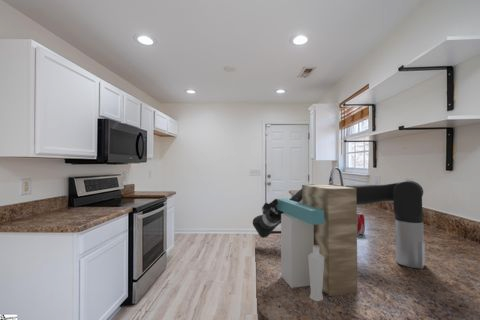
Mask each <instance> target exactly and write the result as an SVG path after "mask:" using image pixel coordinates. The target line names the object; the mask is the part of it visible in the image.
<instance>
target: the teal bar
mask: <svg viewBox="0 0 480 320" xmlns="http://www.w3.org/2000/svg"><path fill="white" fill-rule="evenodd" d="M276 199H277V200H278V205H277V206H276V207H277V210H280V211H282V212H284V213H286V214H289V215H291V216H293V217H295V218H298V219H300V220H302V221H304V222H307V223H309V224H311V225H318V224H324V210H321V209H318V208H315V207H312V206H308V205H305V204H302V202H295V201H292V200H289V199H290V198H289V199H288V198H276Z"/></svg>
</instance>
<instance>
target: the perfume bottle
mask: <svg viewBox="0 0 480 320" xmlns="http://www.w3.org/2000/svg"><path fill="white" fill-rule="evenodd" d="M312 247H313V252H312V253H310V254H309V255H308V261H309V274H310V287H309V288H310V293H309V299H311V300H313V301H315V302H319V301H323V300H324V297H323V296H324V295H323V290H322V286H323V272H324V256H323V255H321V254H320V253H319V248H320V247H319V246H318V245H313V246H312Z"/></svg>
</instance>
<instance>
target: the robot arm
mask: <svg viewBox="0 0 480 320" xmlns="http://www.w3.org/2000/svg"><path fill="white" fill-rule="evenodd" d="M309 185H316V184H315V183H314V184H313V183H312V184H309ZM343 187H350V188H356V197H357V205H359V206H360V205H361V206H362V205H369V204H375V203H381V202H393V212H394V228H395V229H394V230H395V231H394V235H395V236H394V237H395V247H394V248H395V262H396V263H397V264H399V265H402V266H404V267H407V268H413V269H421V270H423V269H424V268H425V266H426V246H425V245H426V242H425V240H424V213H423V195H424V189H423V187H422V186H421V184H419V183H418V182H417V181H415V180H403V181H402V180H401V181H399V182H398V181H397V182H392V183H385V184H373V183H372V184H370V183H369V184H367V183H366V184H365V183H364V184H363V183H362V184H349V185H344V186H343ZM277 199H278V198H274V199H273V200H272V201H270V202H269V203H268V202H265V203H264V204H263V205H262V207H261V210H262V214H260V215H257V216H255V217H254V218H253V219H252V225H253V228H254V229H255V231H256V232H257V234H258V235H259V237H261V238H264V239H265V238H267V237H268V236H270V235H271V234H272V232H273V231H274V230H275V229H276V228H277V227H278V226H279V225H280V224H281V214H285V213H284V212H282V211H280V210H277V207H276V206H277V205H278V200H277ZM289 200H292V201H295V202H299V203H301V202H302V188H301V189H299V190H298V191H297V192H296V193H295V194H294V195H293V196H291V197H290V198H289Z"/></svg>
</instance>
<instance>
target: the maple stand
mask: <svg viewBox="0 0 480 320" xmlns="http://www.w3.org/2000/svg"><path fill="white" fill-rule="evenodd" d="M301 189H302V200H301V203H302V204H305V205H308V206H312V207H315V208H318V209H321V210H324V224H318V225H314V245H318V246H319V247H320V248H319V253H320V254H321V255H323V256H324V272H323V286H322V292H324V293H325V294H327V295H328V297H333V296H339V295H345V294H351V293H352V294H353V293H358V291H359V290H358V289H359V287H358V235H357V212H358V210H357V209H358V208H357V207H358V206H357V197H356V188H350V187H344V186H340V185H333V184H315V185H310V184H301Z"/></svg>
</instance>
